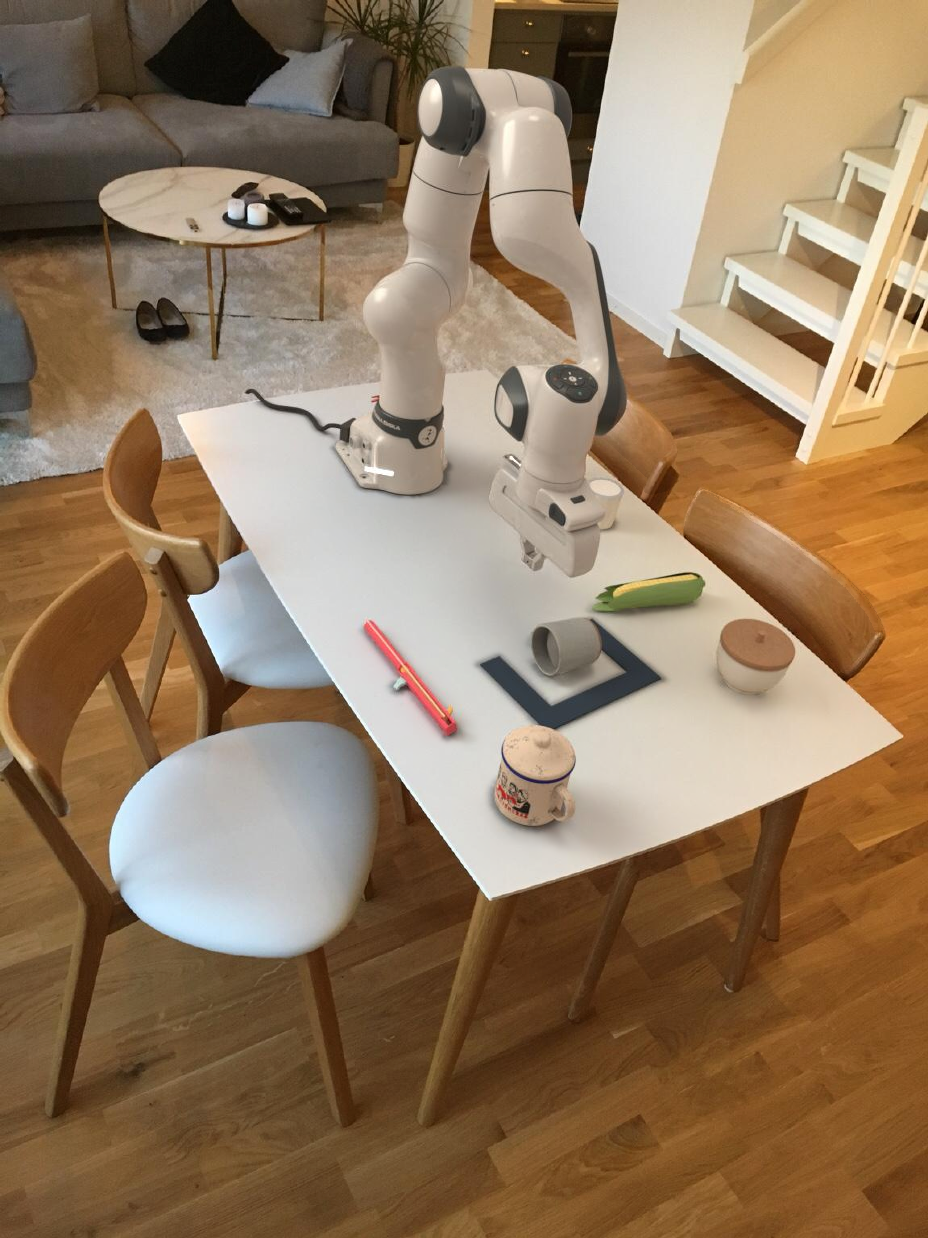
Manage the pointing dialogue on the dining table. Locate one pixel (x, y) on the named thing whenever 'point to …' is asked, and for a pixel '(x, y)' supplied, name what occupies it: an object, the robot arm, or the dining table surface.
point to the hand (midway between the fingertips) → (531, 565)
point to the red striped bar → (412, 680)
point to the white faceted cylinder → (607, 498)
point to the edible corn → (652, 592)
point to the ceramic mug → (565, 645)
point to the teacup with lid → (535, 776)
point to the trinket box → (753, 655)
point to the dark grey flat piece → (584, 701)
